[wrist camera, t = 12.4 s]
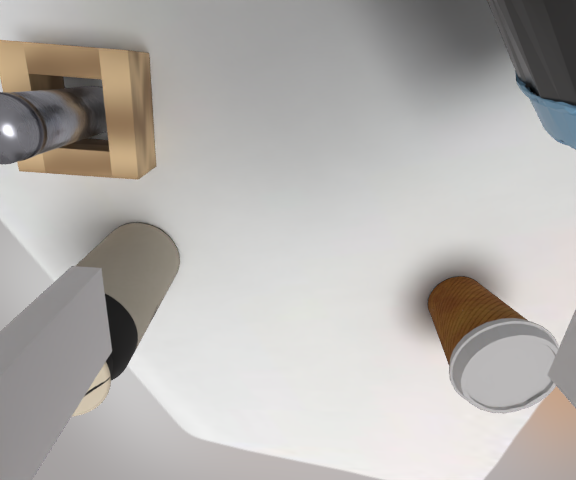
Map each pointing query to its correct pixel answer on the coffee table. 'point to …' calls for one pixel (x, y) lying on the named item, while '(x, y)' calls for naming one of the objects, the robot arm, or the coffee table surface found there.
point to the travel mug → (129, 294)
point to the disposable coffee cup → (491, 347)
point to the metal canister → (48, 120)
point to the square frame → (117, 99)
